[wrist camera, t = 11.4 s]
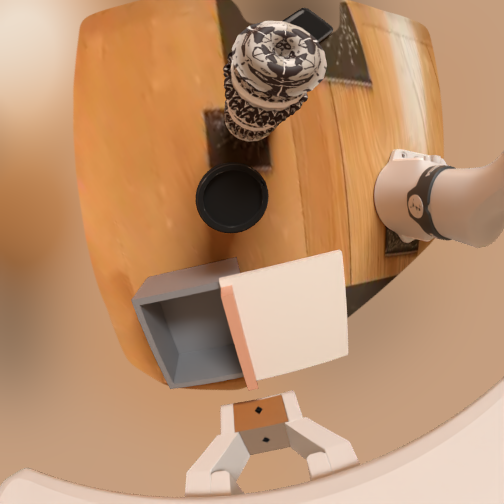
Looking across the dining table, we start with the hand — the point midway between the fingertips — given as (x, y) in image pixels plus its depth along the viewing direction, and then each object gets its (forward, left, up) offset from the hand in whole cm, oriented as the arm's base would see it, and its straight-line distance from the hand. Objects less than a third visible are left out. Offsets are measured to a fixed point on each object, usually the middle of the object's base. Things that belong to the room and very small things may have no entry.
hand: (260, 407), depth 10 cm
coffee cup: (-1, -7, -37) cm, 38 cm away
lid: (-6, +12, -27) cm, 30 cm away
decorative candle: (-7, -19, -37) cm, 42 cm away
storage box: (+8, +12, -37) cm, 39 cm away
